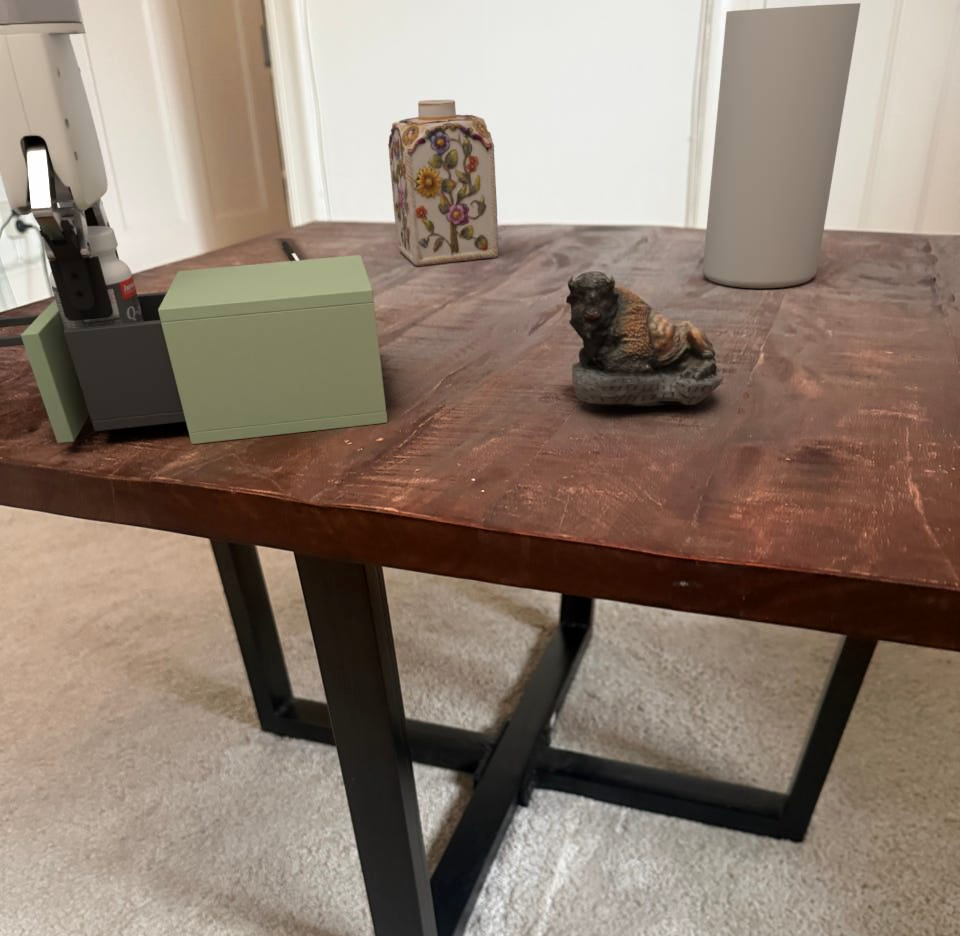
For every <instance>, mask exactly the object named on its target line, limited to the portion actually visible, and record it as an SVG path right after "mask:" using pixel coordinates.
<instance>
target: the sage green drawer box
mask: <svg viewBox="0 0 960 936" xmlns="http://www.w3.org/2000/svg"><path fill="white" fill-rule="evenodd" d="M174 276H175V277H174V279H173V280H172V282H171V284H170V285H169V288H168V290H167V291H166V292H167V294H166V295H165V297H164V299H163V301H162V303H161V305H160V307H159V309H158V312H159V316H160V320H161V322H162V323H161V324H162V328H163V332H164V336H165V340H166V344H167V348H168V352H169V356H170V360H171V364H172V368H173V372H174V376H175V380H176V384H177V388H178V392H179V396H180V400H181V404H182V408H183V412H184V416H185V420H186V422H185V423H186V427H187V432H188V435H189V440H190V444H191V445H199V444H208V443H215V442H216V443H217V442H225V441H233V440H243V439H245V440H246V439H252V438H261V437H271V436H280V435H281V436H282V435H289V434H299V433H308V432H315V431H316V432H317V431H324V430H333V429H343V428H352V427H363V426H369V425H370V426H371V425H379V424H380V425H381V424H387V423H388V414H387V405H386V397H385V395H386V394H385V387H384V380H383V378H384V377H383V371H382V362H381V360H382V359H381V354H380V353H381V352H380V344H379V343H380V342H379V334H378V326H377V316H376V310H375V300H374V291H373V288H372V285H371V282H370V278H369V275H368V272H367V269H366V266H365V263H364V260H363V257H362V255H361V254H356V255H345V256H333V257H322V258H311V259H301V260H300V259H299V260H298V261H292V260H288V261H287V260H286V261H278V262H266V263H254V264H243V265H233V266H219V267H209V268H197V269H185V270H184V269H183V270H178V271H177V273H176V275H174Z"/></svg>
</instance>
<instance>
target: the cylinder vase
mask: <svg viewBox="0 0 960 936" xmlns="http://www.w3.org/2000/svg"><path fill="white" fill-rule="evenodd" d="M860 10H861V3H860V2H856V3H837V4H836V3H835V4H833V3H832V4H817V5H800V6H785V7H768V8H754V9H753V8H751V9H740V10H738V9H737V10H728V11H726V13H725V23H724V37H723V45H722V46H723V47H722V56H721V68H720V80H719V89H718V90H719V91H718V100H717V113H716V120H715V121H716V124H715V131H714V132H715V134H714V143H713V154H712V155H713V156H712V165H711V166H712V167H711V177H710V185H709V186H710V189H709V196H708V197H709V198H708V210H707V221H706V231H705V240H704V241H705V242H704V250H703V251H704V253H703V262H702V264H703V265H702V273H703V275H704V277H705V278H706V279H707V280H709V281H710V282H712V283H715V284H718V285H722V286H725V287H733V288H741V289H780V288H781V289H782V288H787V287H794V286H798V285H802V284H804V283H807V282H809V281H811V280H812V279H813V278H814V277H815V276H816V274H817V272H818V267H819V261H820V257H821V249H822V243H823V237H824V231H825V224H826V220H827V219H826V218H827V213H828V208H829V207H828V206H829V200H830V195H831V189H832V181H833V176H834V168H835V165H836V164H835V163H836V158H837V150H838V145H839V138H840V134H841V133H840V132H841V127H842V126H841V125H842V120H843V114H844V108H845V102H846V96H847V90H848V85H849V78H850V77H849V76H850V70H851V65H852V59H853V52H854V47H855V40H856V35H857V28H858V22H859V16H860Z"/></svg>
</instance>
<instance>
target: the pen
mask: <svg viewBox="0 0 960 936" xmlns="http://www.w3.org/2000/svg"><path fill="white" fill-rule="evenodd" d="M281 246H282V248H283V249H284V251H285V253H286V254H287V256H288V257H289V259H290V261H298V260H300V259H299V257H298V255H297V254H296V253H295V251H294V250H293V249H292V247H291V246H290V244H289V242H287V241H285V240H284V241H282V243H281Z"/></svg>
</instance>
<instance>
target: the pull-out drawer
mask: <svg viewBox="0 0 960 936" xmlns="http://www.w3.org/2000/svg"><path fill="white" fill-rule="evenodd" d="M167 292H168V291H157V292H147V293H137V296H138V300H139V304H140V308H141V312H142V316H143V320H144V322H134V323H123V324H113V325H102V326H92V327H81V328H70V329H66V330H64V326H63V323H62V320H61V316H60V313H59V310H58V307H57V303H56V300H55V299H54V300H52V302H51V303H50V304H49V305H48V306H47V307H46V308H45V309H44V310H43V311H42V312H41V313H37V314H29V315H28V314H27V315H18V316H17V315H16V316H7V317H6V316H4V317H0V328H1V329H2V328H10V327H21V326H22V327H23V326H27V328H26V329H24V331H22V332H21V334H15V335H6V336H0V348H7V347H16V346H24V349H25V352H26V355H27V358H28V361H29V364H30V366H31V370H32V373H33V375H34V378H35V381H36V384H37V387H38V390H39V393H40V395H41V400H42V402H43V405H44V408H45V410H46V413H47V416H48V420H49V422H50V425H51V428H52V431H53V434H54V437H55V440H56V443H57V444H67V443H74V442H75V441H76V440H77V437H78V435H79V433H80V432H81V430H82V428H83V427H84V424H85V423H86V420H87V419H88V417H89V419H90V420H91V424H92V428H93V431H94V432H103V431H110V430H111V431H112V430H121V429H131V428H138V427H139V428H140V427H150V426H159V425H167V424H176V423H177V424H178V423H186V420H185V416H184V412H183V408H182V404H181V400H180V396H179V392H178V388H177V384H176V380H175V376H174V372H173V368H172V364H171V360H170V356H169V352H168V348H167V344H166V340H165V336H164V332H163V328H162V324H161V323H162V322H161V320H160V316H159V312H158V309H159V307H160V305H161V303H162V301H163V299H164V297H165V295H166V294H167Z"/></svg>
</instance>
